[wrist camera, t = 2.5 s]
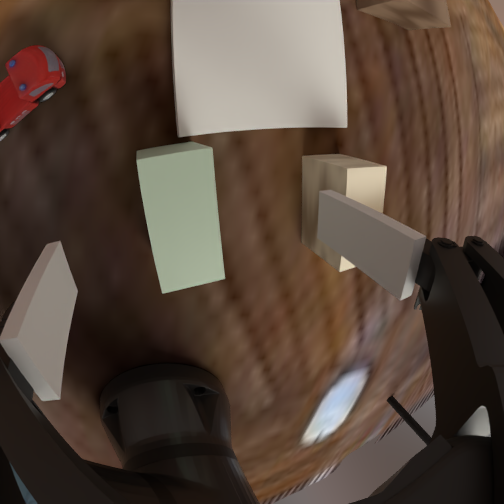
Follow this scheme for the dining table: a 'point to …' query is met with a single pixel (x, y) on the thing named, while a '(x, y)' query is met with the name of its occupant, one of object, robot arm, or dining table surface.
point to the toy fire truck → (28, 84)
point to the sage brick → (181, 214)
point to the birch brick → (341, 181)
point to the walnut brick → (409, 12)
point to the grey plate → (257, 65)
